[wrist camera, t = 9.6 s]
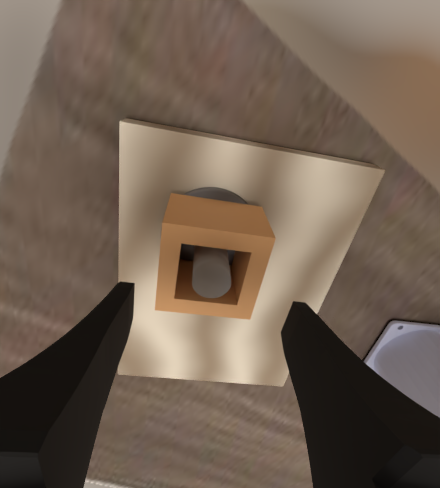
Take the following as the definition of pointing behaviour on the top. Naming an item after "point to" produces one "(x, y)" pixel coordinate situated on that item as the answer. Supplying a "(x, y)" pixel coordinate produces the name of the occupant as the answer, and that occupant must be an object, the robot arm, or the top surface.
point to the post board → (218, 260)
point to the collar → (216, 236)
